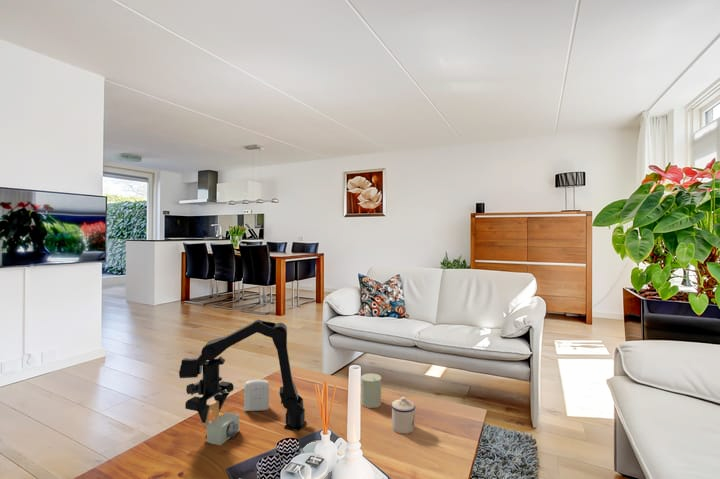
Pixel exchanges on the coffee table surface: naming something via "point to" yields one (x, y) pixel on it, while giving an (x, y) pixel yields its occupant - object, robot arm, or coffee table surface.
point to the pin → (230, 429)
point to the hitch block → (221, 428)
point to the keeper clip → (215, 411)
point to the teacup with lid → (403, 415)
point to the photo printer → (256, 395)
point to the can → (371, 390)
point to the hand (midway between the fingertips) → (210, 418)
